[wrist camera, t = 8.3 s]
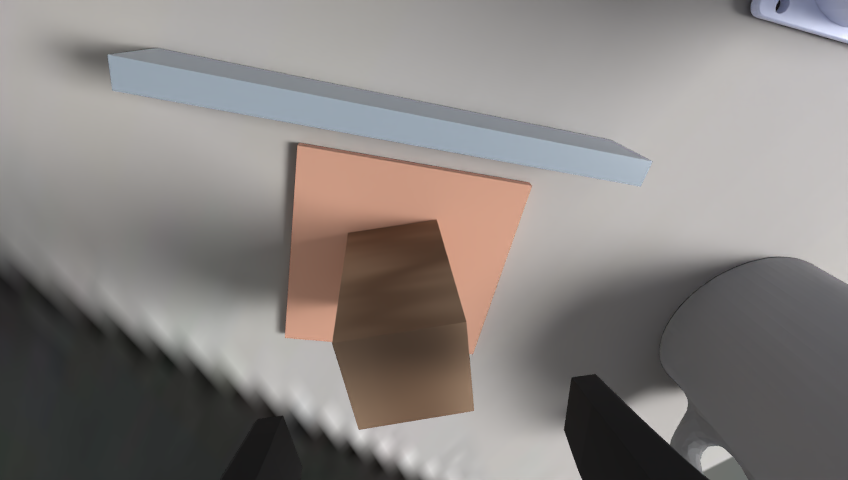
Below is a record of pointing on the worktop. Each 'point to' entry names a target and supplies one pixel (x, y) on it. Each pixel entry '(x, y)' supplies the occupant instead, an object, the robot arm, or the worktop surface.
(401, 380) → the walnut block
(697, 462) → the coffee mug
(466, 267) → the mat
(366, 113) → the low wall
